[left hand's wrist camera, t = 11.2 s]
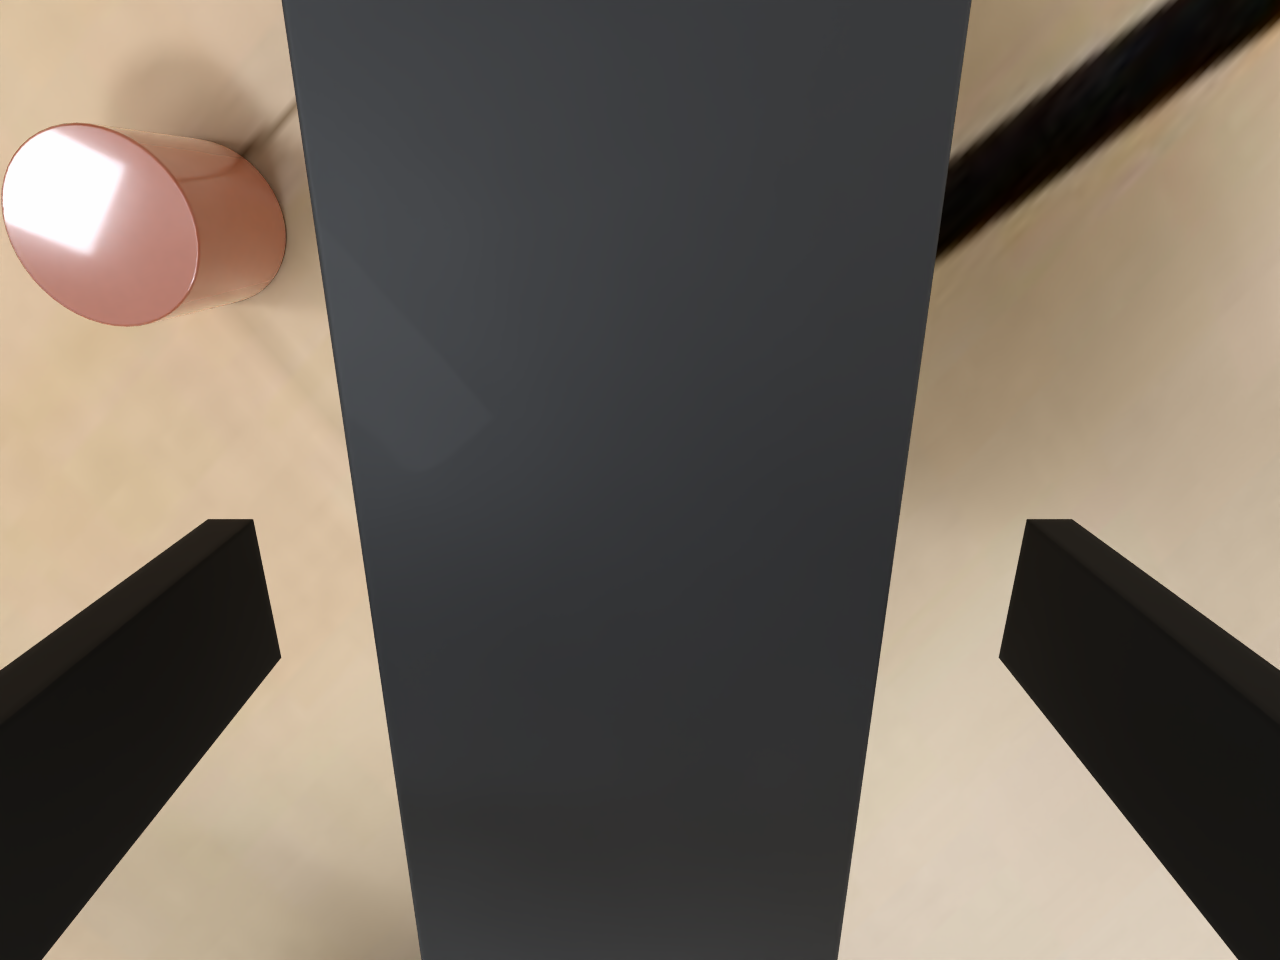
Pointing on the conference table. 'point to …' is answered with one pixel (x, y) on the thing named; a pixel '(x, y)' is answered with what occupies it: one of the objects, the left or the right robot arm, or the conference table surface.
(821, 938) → the bar
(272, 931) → the conference table surface
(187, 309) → the glossy pink cylinder
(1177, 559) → the conference table surface
